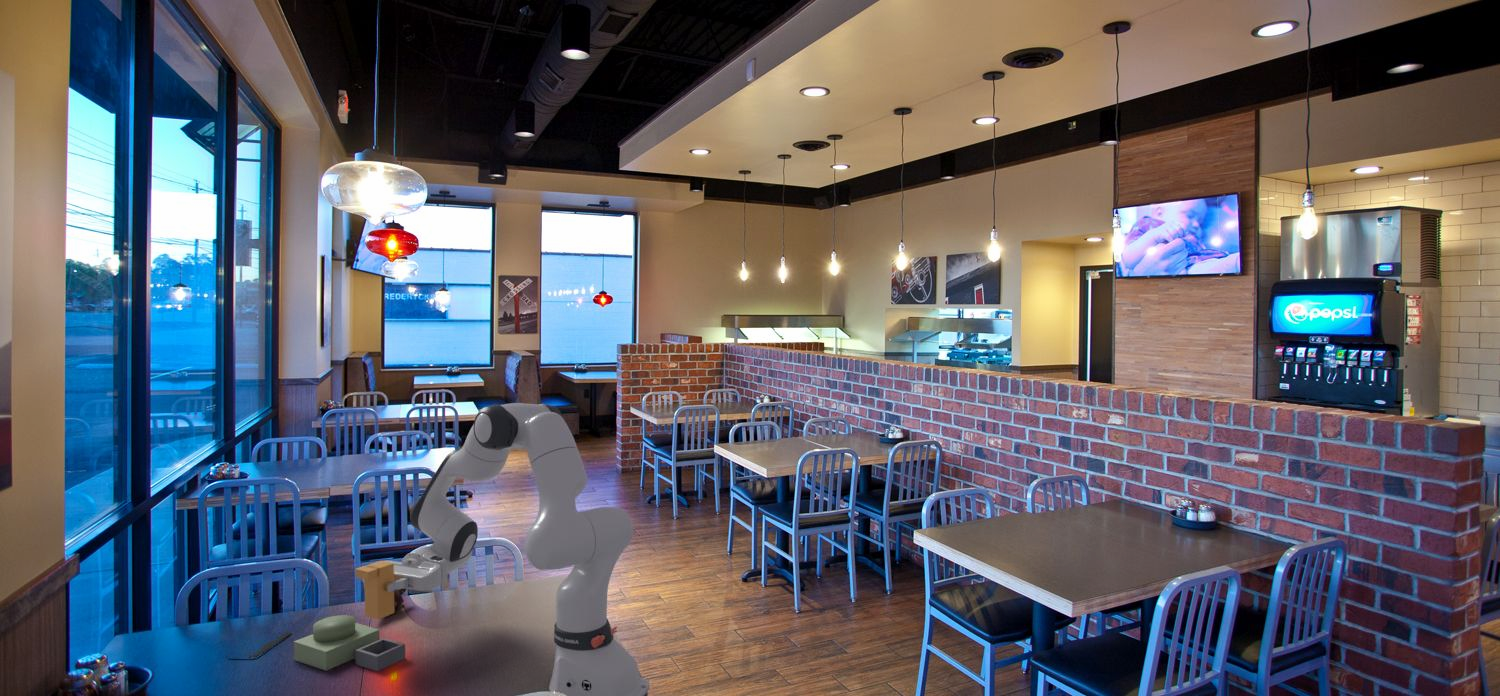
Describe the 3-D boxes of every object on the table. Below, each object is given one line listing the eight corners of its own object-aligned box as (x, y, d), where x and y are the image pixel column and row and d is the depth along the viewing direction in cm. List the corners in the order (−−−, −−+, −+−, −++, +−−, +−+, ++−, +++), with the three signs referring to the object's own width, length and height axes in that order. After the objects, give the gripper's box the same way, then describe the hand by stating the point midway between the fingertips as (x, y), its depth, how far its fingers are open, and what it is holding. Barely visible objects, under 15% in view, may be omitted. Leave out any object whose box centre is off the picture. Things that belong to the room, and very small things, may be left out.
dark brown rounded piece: (387, 602, 202) (418, 587, 217) (362, 593, 203) (395, 579, 218) (380, 627, 202) (412, 610, 217) (355, 619, 203) (388, 602, 218)
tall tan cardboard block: (394, 612, 182) (393, 563, 182) (369, 623, 176) (368, 572, 176) (381, 609, 184) (380, 560, 184) (356, 619, 178) (355, 568, 178)
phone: (293, 631, 198) (255, 657, 183) (293, 634, 198) (256, 660, 183) (265, 631, 198) (225, 657, 183) (265, 634, 198) (225, 660, 183)
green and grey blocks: (409, 656, 185) (409, 625, 184) (356, 681, 172) (356, 648, 172) (348, 637, 195) (347, 608, 195) (294, 659, 182) (293, 629, 182)
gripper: (386, 551, 196) (342, 568, 183) (451, 560, 190) (410, 578, 177) (387, 575, 197) (342, 594, 184) (452, 585, 190) (410, 605, 177)
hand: (376, 586), depth 180 cm, fingers closed on tall tan cardboard block, 5 cm apart
